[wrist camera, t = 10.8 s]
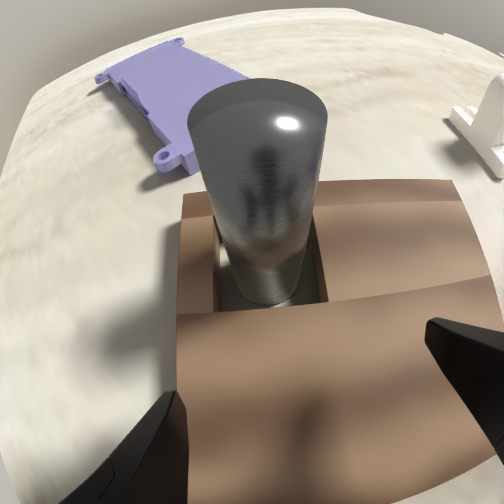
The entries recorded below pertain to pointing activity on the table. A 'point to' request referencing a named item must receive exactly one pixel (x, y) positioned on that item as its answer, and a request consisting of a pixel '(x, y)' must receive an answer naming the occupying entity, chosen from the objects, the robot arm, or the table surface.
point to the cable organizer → (485, 125)
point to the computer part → (169, 94)
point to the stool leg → (261, 177)
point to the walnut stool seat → (334, 354)
